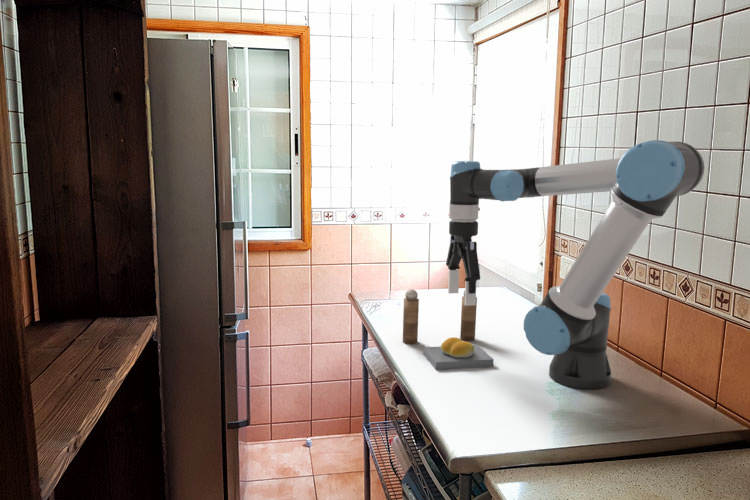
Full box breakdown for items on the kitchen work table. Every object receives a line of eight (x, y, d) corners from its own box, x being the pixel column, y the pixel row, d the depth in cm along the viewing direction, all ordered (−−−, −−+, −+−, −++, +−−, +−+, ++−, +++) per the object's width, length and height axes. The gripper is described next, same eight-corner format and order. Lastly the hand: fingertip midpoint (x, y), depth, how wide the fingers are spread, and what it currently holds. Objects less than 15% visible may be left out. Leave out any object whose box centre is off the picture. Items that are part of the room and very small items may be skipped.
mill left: (419, 343, 183) (420, 291, 180) (404, 344, 182) (406, 291, 179) (415, 339, 187) (416, 287, 184) (401, 339, 186) (402, 287, 183)
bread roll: (460, 361, 163) (461, 346, 163) (436, 352, 170) (436, 338, 169) (481, 354, 169) (481, 340, 168) (456, 345, 175) (456, 332, 175)
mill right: (476, 341, 186) (479, 289, 183) (463, 341, 185) (465, 289, 182) (471, 336, 190) (474, 285, 188) (458, 337, 190) (460, 286, 187)
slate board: (493, 366, 166) (493, 359, 165) (435, 369, 162) (435, 362, 162) (477, 351, 177) (477, 344, 177) (423, 354, 174) (423, 347, 174)
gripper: (495, 225, 152) (492, 310, 155) (461, 214, 176) (459, 287, 179) (466, 226, 150) (463, 311, 154) (436, 215, 174) (434, 288, 178)
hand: (461, 298), depth 166 cm, fingers open, 13 cm apart
